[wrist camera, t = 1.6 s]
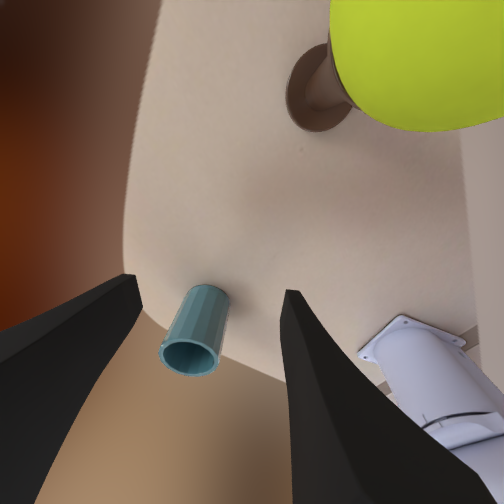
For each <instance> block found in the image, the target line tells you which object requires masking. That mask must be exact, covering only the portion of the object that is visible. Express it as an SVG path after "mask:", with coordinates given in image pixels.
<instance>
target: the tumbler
mask: <svg viewBox="0 0 504 504" xmlns="http://www.w3.org/2000/svg"><path fill="white" fill-rule="evenodd" d="M229 311H230V301H229V298H228V296H227V295H226V294H225V293H224V292H223V291H222V290H220V289H219V288H217V287H214V286H210V285H199V286H196V287H193V288H192V289H190V290H189V291H188V293H187V294H186V296H185V298H184V300H183V302H182V304H181V306H180V308H179V310H178V312H177V314H176V316H175V318H174V320H173V322H172V324H171V326H170V328H169V330H168V332H167V334H166V336H165V338H164V340H163V342H162V344H161V346H160V349H159V352H158V354H159V357H160V360H161V362H162V363H163V364H164V365H165V366H166V367H167V368H168V369H170V370H172V371H174V372H176V373H178V374H182V375H186V376H196V377H198V376H204V375H208V374H210V373H212V372H213V371H215V370H216V368H217V366H218V365H219V361H220V356H221V351H222V346H223V341H224V336H225V331H226V326H227V321H228V316H229Z"/></svg>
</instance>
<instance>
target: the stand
mask: <svg viewBox="0 0 504 504" xmlns="http://www.w3.org/2000/svg"><path fill="white" fill-rule="evenodd" d="M286 106H287V110H288V113H289V115H290V117H291V119H292V120H293V122H294V123H295V124H296V125H297V126H298V127H300V128H301V129H303V130H306V131H309V132H321V131H325V130H328V129H331V128H332V127H334V126H336V125H337V124H339V123H340V122H341V121H342V120H343V119H344V118H345V117H346V115H347V114H348V113H349V111H350V110H351V108H352V106H353V107H354V108H357V109H359V110H361V109H360V108H359V107H358V106H357V105H356V104H355V102H354V101H353V100H352V98H351V97H350V96H349V94H348V93H347V91H346V89H345V87H344V85H343V83H342V82H341V79H340V76H339V73H338V71H337V68H336V65H335V60H334V56H333V52H332V44H331V36H330V27H329V33H328V43H327V44H321V45H318V46H315V47H313V48H311V49H310V50H308V51H307V52H306V53H305V54H303V55H302V57H301V58H300V59H299V60H298V61H297V63H296V64H295V66H294V68H293V69H292V72H291V74H290V76H289V79H288V82H287V87H286ZM361 111H362V110H361Z"/></svg>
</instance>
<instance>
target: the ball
mask: <svg viewBox="0 0 504 504" xmlns="http://www.w3.org/2000/svg"><path fill="white" fill-rule="evenodd" d="M330 36H331V44H332V52H333V56H334V60H335V65H336V68H337V71H338V73H339V76H340V79H341V82H342V83H343V85H344V87H345V89H346V91H347V93H348V94H349V96H350V97H351V98H352V100H353V101H354V102H355V104H356V105H357V106H358V107H359V108H360V109H361V110H362V111H363V112H364V113H366V114H367V115H369V116H370V117H372V118H373V119H375V120H376V121H379V122H381V123H383V124H386V125H388V126H390V127H393V128H397V129H401V130H406V131H418V132H438V131H448V130H456V129H461V128H466V127H470V126H475V125H478V124H481V123H485V122H488V121H491V120H494V119H498V118H501V117H504V0H331V1H330Z"/></svg>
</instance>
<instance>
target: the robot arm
mask: <svg viewBox="0 0 504 504" xmlns="http://www.w3.org/2000/svg"><path fill="white" fill-rule="evenodd" d="M142 308H143V305H142V301H141V296H140V292H139V288H138V284H137V280H136V275H131V274H121V275H119V276H117V277H115V278H112V279H111V280H108V281H106V282H104V283H103V284H101V285H99V286H97V287H95V288H93V289H91V290H89V291H87V292H85V293H83V294H81V295H79V296H77V297H75V298H73V299H71V300H70V301H68V302H65V303H63V304H61V305H59V306H57V307H55V308H53V309H51V310H49V311H47V312H45V313H43V314H41V315H38V316H36V317H34V318H32V319H29V320H27V321H25V322H23V323H20V324H18V325H16V326H13V327H11V328H8V329H6V330H3V331H1V332H0V504H34V503H35V500H36V498H37V496H38V494H39V491H40V489H41V487H42V485H43V483H44V481H45V479H46V476H47V474H48V472H49V470H50V468H51V466H52V463H53V462H54V460H55V458H56V456H57V454H58V451H59V450H60V448H61V445H62V444H63V442H64V440H65V438H66V436H67V434H68V432H69V430H70V428H71V426H72V424H73V422H74V420H75V419H76V417H77V415H78V413H79V411H80V409H81V407H82V406H83V404H84V402H85V400H86V398H87V397H88V395H89V393H90V391H91V390H92V388H93V386H94V384H95V382H96V381H97V379H98V378H99V376H100V375H101V373H102V371H103V370H104V369H105V367H106V366H107V364H108V363H109V361H110V360H111V358H112V357H113V356H114V354H115V353H116V351H117V350H118V348H119V347H120V345H121V344H122V342H123V341H124V339H125V338H126V337H127V335H128V334H129V332H130V331H131V329H132V327H133V326H134V324H135V322H136V320H137V318H138V316H139V314H140V312H141V310H142ZM280 341H281V349H282V356H283V363H284V371H285V378H286V385H287V392H288V402H289V418H290V419H289V420H290V439H291V464H292V492H293V493H292V494H293V504H504V394H503V393H502V392H501V391H500V390H499V389H498V388H497V387H496V386H495V385H494V384H493V382H491V380H490V379H489V378H488V377H487V376H486V375H485V374H484V373H483V372H482V371H481V370H480V368H479V367H478V366H477V365H476V364H475V363H474V362H473V361H472V360H471V359H470V358H469V357H468V356H467V354H466V353H465V352H464V351H463V350H462V349H461V348H460V347H462V346H463V345H465V344H466V341H465V340H464V339H463V338H460V337H457V336H455V335H452V334H450V333H447V332H444V331H442V330H439V329H437V328H434V327H432V326H429V325H426V324H424V323H421V322H419V321H416V320H413V319H411V318H408V317H406V316H403V315H400V316H398V317H396V318H395V319H394V320H393V321H392V322H391V323H390V324H389V325H388V326H386V327H385V328H384V329H383V330H382V331H381V332H380V333H379V334H378V335H377V336H376V337H375V338H373V339H372V340H371V341H370V342H369V343H368V344H367V345H366V346H365V347H364V348H363V349H361V350H360V351H359V352H358V353H357V355H358V357H359V358H360V359H363V360H366V361H369V362H372V363H375V364H378V365H379V367H380V369H381V371H382V373H383V375H384V377H385V379H386V381H387V383H388V385H389V387H390V389H391V391H392V393H393V395H394V397H395V399H396V401H397V403H398V405H399V407H400V409H401V410H400V409H399V408H398V407H397V406H396V405H395V404H394V403H393V402H392V401H390V400H389V399H388V398H387V397H386V396H385V395H384V394H383V393H382V392H381V391H380V390H379V389H378V388H377V387H376V386H375V385H374V384H373V383H372V382H371V381H370V380H369V379H368V378H367V377H366V376H365V375H364V374H363V373H362V372H361V371H360V370H359V369H358V368H357V367H356V366H355V365H354V364H353V362H352V361H351V360H350V359H349V358H348V357H347V356H346V355H345V353H344V352H343V351H342V350H341V349H340V347H339V346H338V345H337V344H336V343H335V341H334V340H333V339H332V338H331V336H330V335H329V334H328V332H327V331H326V330H325V328H324V327H323V325H322V324H321V323H320V321H319V320H318V319H317V317H316V316H315V314H314V313H313V311H312V310H311V308H310V307H309V305H308V304H307V302H306V300H305V299H304V297H303V296H302V294H301V292H300V291H298V290H287V289H286V292H285V297H284V302H283V307H282V312H281V317H280Z"/></svg>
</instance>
